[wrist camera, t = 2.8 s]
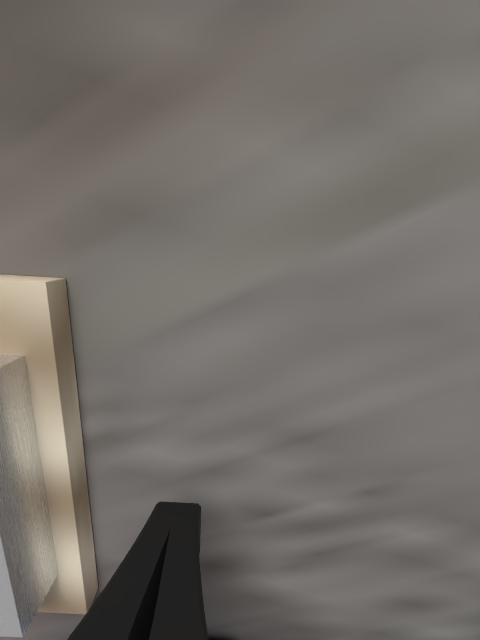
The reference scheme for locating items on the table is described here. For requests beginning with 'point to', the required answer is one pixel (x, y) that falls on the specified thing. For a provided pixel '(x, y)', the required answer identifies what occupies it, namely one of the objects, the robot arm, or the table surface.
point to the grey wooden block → (21, 505)
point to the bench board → (54, 428)
